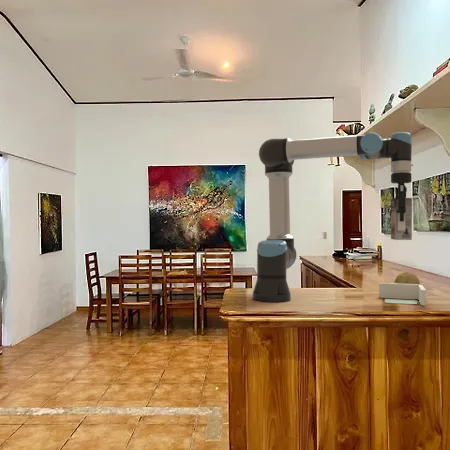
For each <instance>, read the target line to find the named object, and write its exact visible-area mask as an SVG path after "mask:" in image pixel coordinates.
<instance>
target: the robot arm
mask: <svg viewBox="0 0 450 450" xmlns="http://www.w3.org/2000/svg"><path fill="white" fill-rule="evenodd" d="M412 148H413V147H412V135H411V133H410V132H407V131H398V132H393V133H392V134H391V135H390V138H384V139H383V138H382V137H381V136H380V134H378V133H376V132H366V133H365V134H359V135H358V134H357V135H345V136H344V135H343V136H332V137H318V138H308V139H295V140H294V139H293V140H292V139H291V138H289V137H287V138H285V137H284V138H270V139H267V140H265V141H264V142H263V143H262V144H261V146H260V147H259V150H258V157H259V160H260V162H261V163H262V164H263V165H264V175H265V176H266V177H267V179H268V194H269V195H268V200H269V201H268V202H269V204H268V205H269V207H268V208H269V212H268V213H269V235H268V236H267V237H266V240H265V239H264V240H261V241H259V242H258V244H257V249H256V252H257V254H256V255H257V257H256V259H257V260H256V262H257V263H256V268H257V269H256V272H257V273H256V282H255V285H254V288H253V292H252V300H254V301H258V302H270V303H272V302H273V303H275V302H276V303H280V302H288V301H291V299H292V297H291V296H292V295H291V290H290V287H289V285H288V282H287V269H289V268H291V267H292V266H293V265H294V264H295V262H296V261H297V250H296V248H295V238H294V237H293V236H292V234H291V212H290V210H291V209H290V208H291V207H290V177H291V176H292V175H293V165H294V163H295V161H296V160H307V159H325V158H339V157H353V156H354V157H355V156H359V159H361V160H368V161H369V160H376V159H378V160H379V159H390V172H391V174H390V183H391V184H396V185H397V187H395V193H396V194H395V195H396V197H395V198H398V211H396V213H398V230H405V212H406V209H405V198H407V192H408V190H407V189H408V187H406V185H405V184H410V183H412V173H411V172H412V167H414V164H413V163H412V153H413V152H412Z"/></svg>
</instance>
